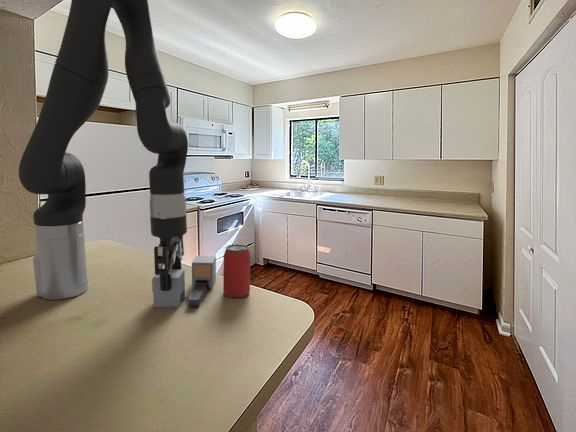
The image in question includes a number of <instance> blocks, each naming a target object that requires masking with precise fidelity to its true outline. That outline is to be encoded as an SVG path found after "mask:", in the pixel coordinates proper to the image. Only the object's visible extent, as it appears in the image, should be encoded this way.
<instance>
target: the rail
mask: <svg viewBox="0 0 576 432" xmlns="http://www.w3.org/2000/svg"><path fill="white" fill-rule="evenodd" d="M208 289H209V280H198V281H197V283H196V285H195V287H194V289H192V291H191V292H190V295H189V296H188V299H187V308H188V309H192V308H193V309H195V308H196V309H200V306H201V303H202V302H203V299H204V296H205V294H206V292H207V290H208Z"/></svg>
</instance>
